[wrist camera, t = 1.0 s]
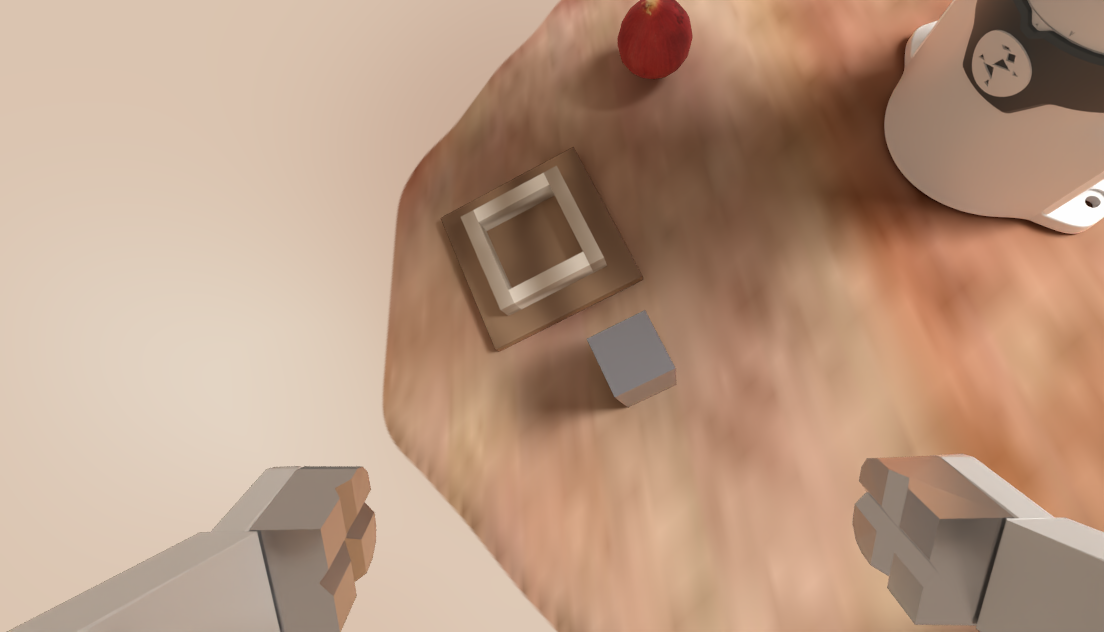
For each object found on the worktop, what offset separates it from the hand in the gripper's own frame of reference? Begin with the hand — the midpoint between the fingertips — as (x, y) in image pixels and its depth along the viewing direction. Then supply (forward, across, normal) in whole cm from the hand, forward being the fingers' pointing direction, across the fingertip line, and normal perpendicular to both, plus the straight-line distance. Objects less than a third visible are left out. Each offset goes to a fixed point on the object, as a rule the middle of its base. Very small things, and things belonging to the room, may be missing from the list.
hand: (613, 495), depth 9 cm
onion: (+44, -8, -11) cm, 46 cm away
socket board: (+37, +2, +3) cm, 38 cm away
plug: (+30, -5, +11) cm, 33 cm away
